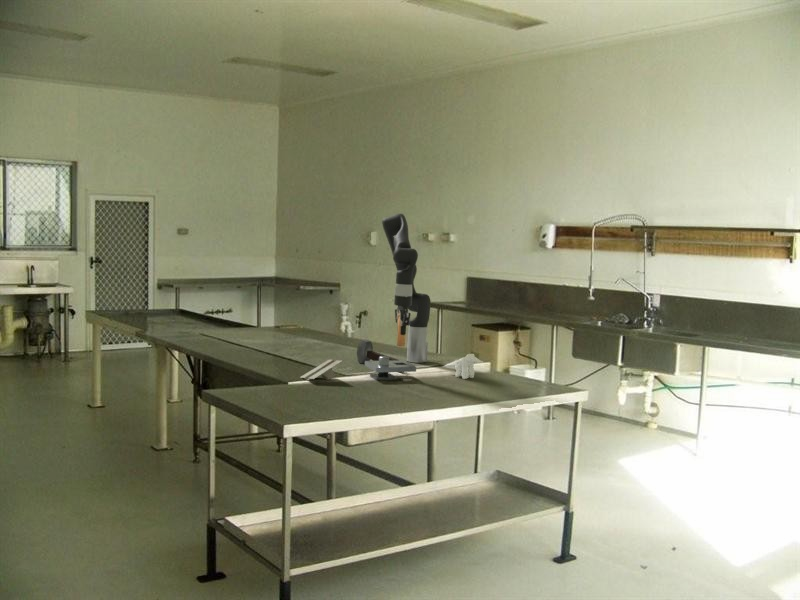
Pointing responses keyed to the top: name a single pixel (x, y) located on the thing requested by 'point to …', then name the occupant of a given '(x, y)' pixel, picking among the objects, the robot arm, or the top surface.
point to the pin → (400, 337)
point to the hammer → (369, 352)
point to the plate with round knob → (388, 368)
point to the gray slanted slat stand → (322, 370)
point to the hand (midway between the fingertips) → (401, 333)
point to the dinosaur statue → (464, 366)
